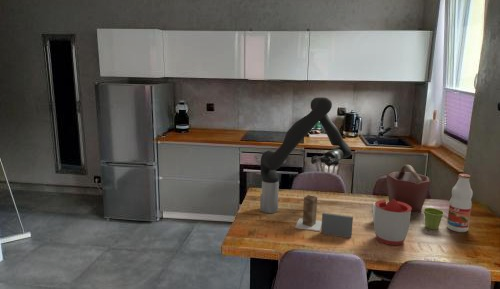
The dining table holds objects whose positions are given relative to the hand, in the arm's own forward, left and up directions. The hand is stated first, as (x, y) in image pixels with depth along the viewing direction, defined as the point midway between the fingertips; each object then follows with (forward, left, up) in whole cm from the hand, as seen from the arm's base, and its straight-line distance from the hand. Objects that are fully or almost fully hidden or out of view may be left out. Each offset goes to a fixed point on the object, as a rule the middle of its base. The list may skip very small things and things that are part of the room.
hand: (320, 163), depth 189 cm
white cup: (+31, +6, -30) cm, 44 cm away
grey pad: (-3, -10, -30) cm, 32 cm away
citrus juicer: (+35, -13, -30) cm, 48 cm away
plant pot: (+56, +9, -30) cm, 65 cm away
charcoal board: (+11, -17, -30) cm, 36 cm away
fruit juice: (+68, +12, -30) cm, 76 cm away
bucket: (+45, +34, -30) cm, 64 cm away
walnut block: (-3, -10, -29) cm, 31 cm away
